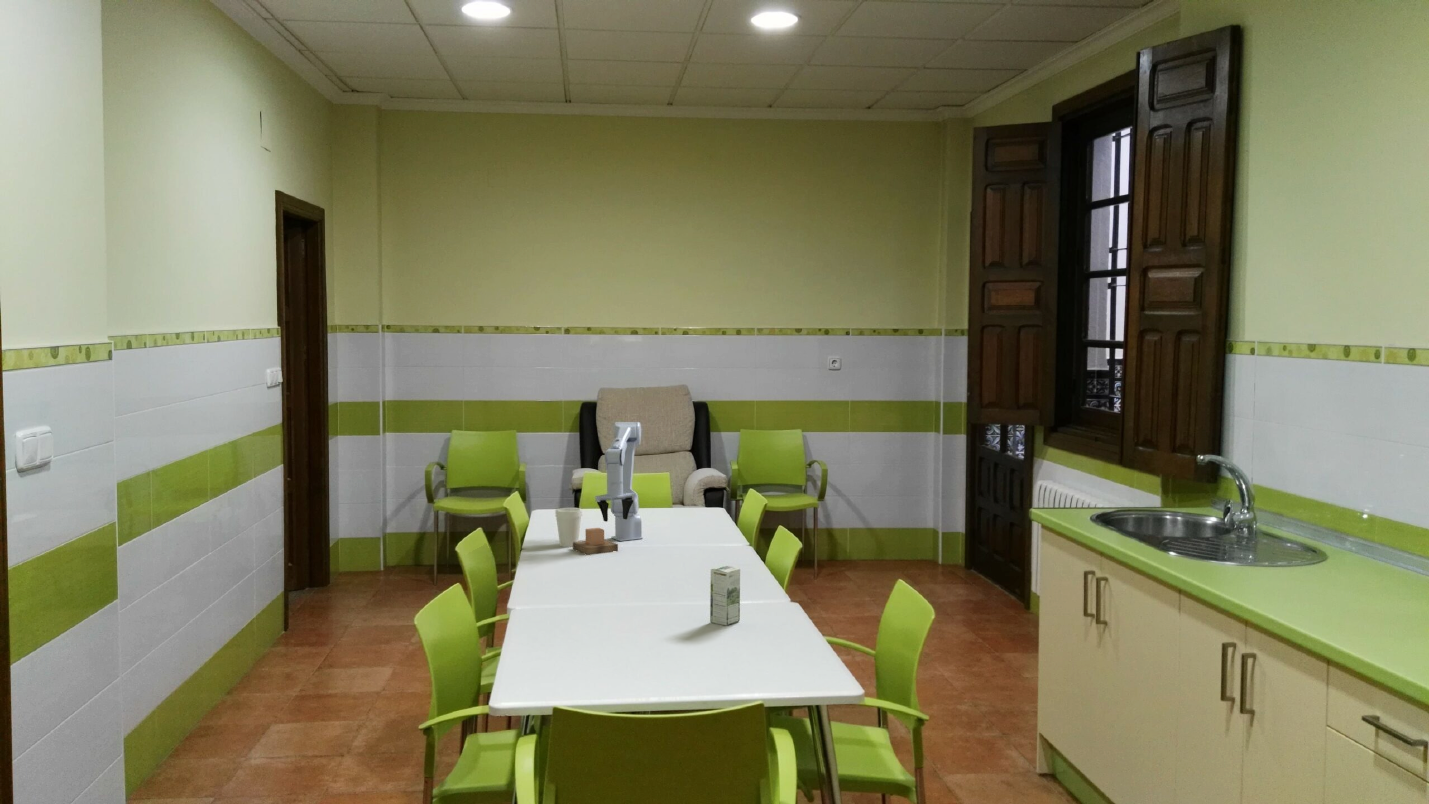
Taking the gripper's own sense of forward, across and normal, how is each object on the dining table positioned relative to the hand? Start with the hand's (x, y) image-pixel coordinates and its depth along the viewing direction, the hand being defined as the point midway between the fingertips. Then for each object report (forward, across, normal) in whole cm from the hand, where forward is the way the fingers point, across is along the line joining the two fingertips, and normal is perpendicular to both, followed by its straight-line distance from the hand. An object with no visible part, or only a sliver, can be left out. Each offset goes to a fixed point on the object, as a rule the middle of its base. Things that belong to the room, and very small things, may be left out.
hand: (615, 520), depth 378 cm
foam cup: (+10, -12, +13) cm, 21 cm away
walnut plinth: (+11, -8, 0) cm, 13 cm away
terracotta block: (+8, -8, 0) cm, 11 cm away
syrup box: (+10, -16, -105) cm, 106 cm away
